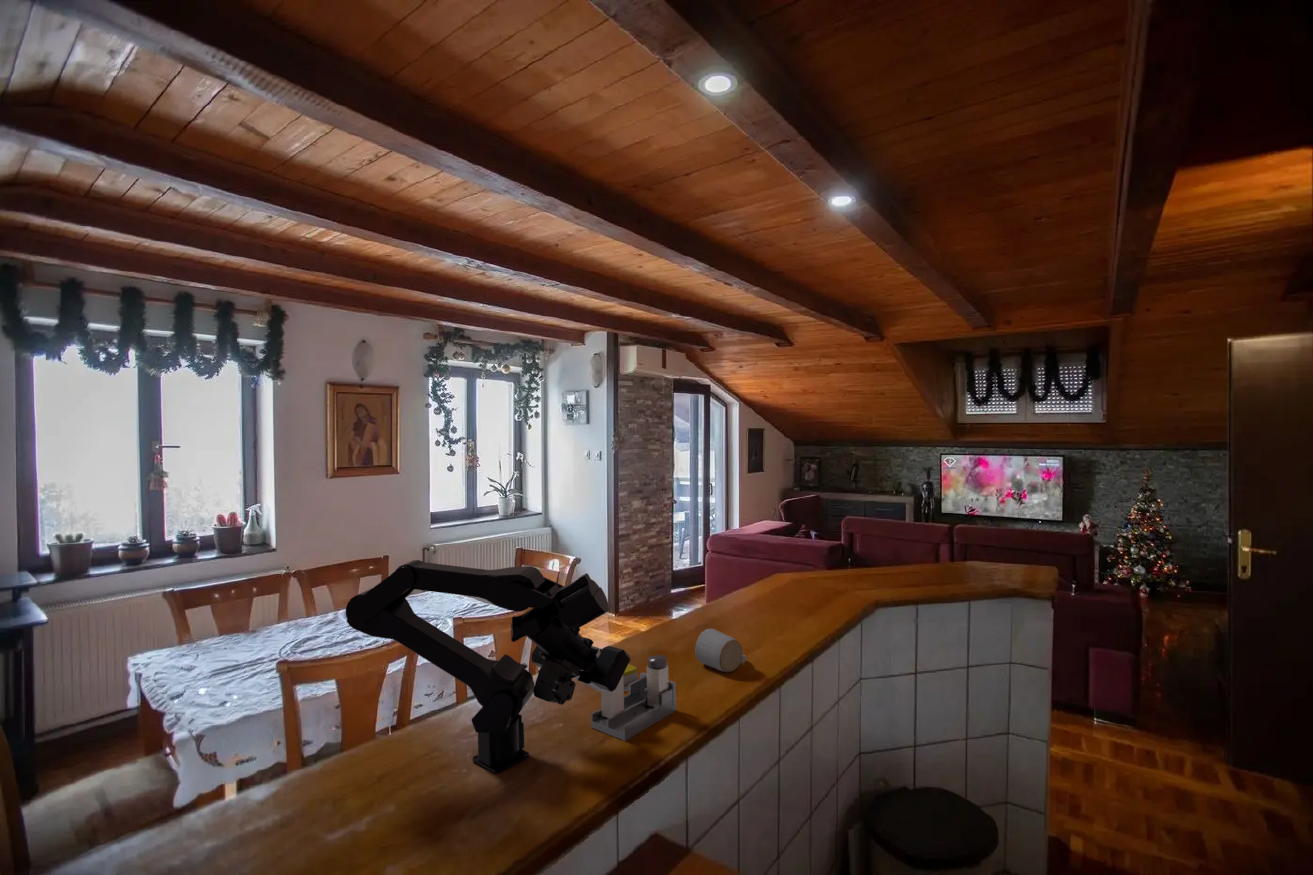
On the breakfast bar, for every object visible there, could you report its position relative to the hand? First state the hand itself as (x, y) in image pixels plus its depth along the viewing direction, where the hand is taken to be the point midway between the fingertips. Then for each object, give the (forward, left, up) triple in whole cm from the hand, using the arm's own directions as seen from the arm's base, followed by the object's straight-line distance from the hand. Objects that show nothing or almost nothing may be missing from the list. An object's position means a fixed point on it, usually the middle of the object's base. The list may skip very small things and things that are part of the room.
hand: (604, 682), depth 107 cm
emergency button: (+16, +15, -9) cm, 23 cm away
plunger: (+2, 0, -7) cm, 7 cm away
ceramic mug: (+36, -1, -8) cm, 37 cm away
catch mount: (+6, -2, -8) cm, 10 cm away
